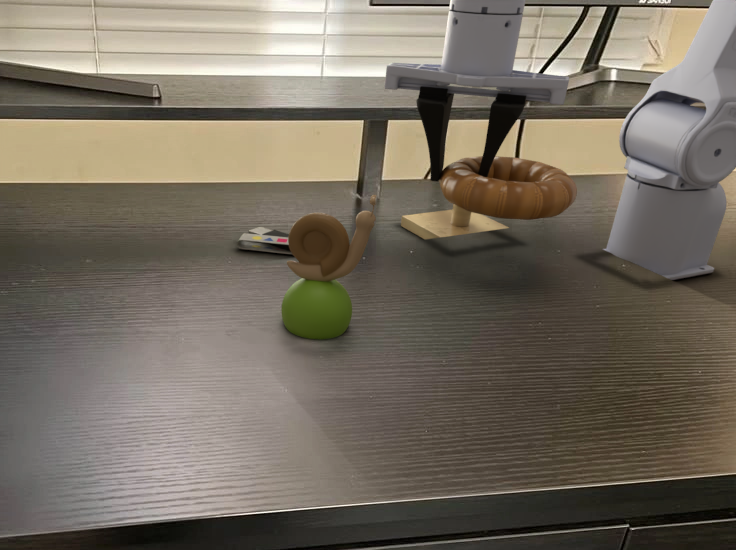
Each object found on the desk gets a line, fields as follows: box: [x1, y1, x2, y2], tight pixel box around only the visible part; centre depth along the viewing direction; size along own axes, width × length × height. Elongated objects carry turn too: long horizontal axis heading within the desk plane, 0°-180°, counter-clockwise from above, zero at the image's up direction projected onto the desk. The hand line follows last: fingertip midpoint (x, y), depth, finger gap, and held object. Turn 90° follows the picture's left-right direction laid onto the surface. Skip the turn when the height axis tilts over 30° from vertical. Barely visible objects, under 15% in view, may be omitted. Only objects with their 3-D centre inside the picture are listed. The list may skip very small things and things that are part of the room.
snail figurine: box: [280, 194, 378, 340], centre depth 55 cm, size 5×6×12 cm
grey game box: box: [236, 226, 293, 255], centre depth 75 cm, size 9×5×1 cm, turn 49°
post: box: [400, 204, 510, 240], centre depth 80 cm, size 9×9×7 cm
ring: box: [438, 155, 578, 221], centre depth 64 cm, size 11×11×3 cm
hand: (457, 181), depth 66 cm, fingers closed on ring, 3 cm apart
